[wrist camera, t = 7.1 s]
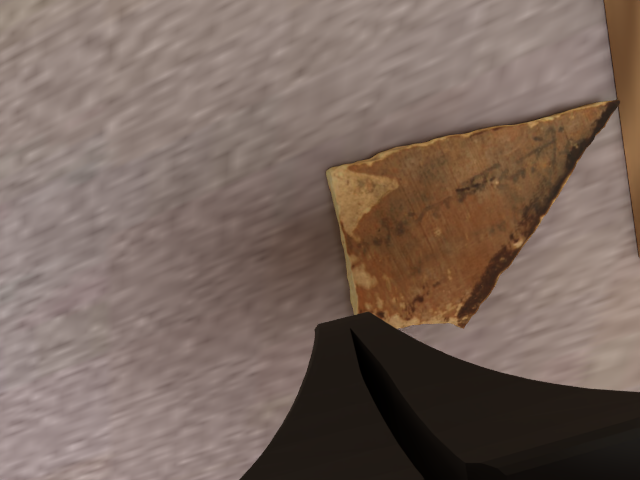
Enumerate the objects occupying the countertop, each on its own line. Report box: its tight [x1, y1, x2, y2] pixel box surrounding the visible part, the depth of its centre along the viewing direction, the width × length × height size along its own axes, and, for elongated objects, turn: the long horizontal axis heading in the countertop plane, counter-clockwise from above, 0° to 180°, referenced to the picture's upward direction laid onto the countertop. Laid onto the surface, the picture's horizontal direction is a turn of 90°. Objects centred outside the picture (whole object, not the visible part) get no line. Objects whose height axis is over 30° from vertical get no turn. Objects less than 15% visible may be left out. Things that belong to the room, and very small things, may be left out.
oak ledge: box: [604, 0, 640, 257], centre depth 16 cm, size 21×8×3 cm, turn 19°
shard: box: [326, 99, 620, 329], centre depth 19 cm, size 11×8×2 cm
